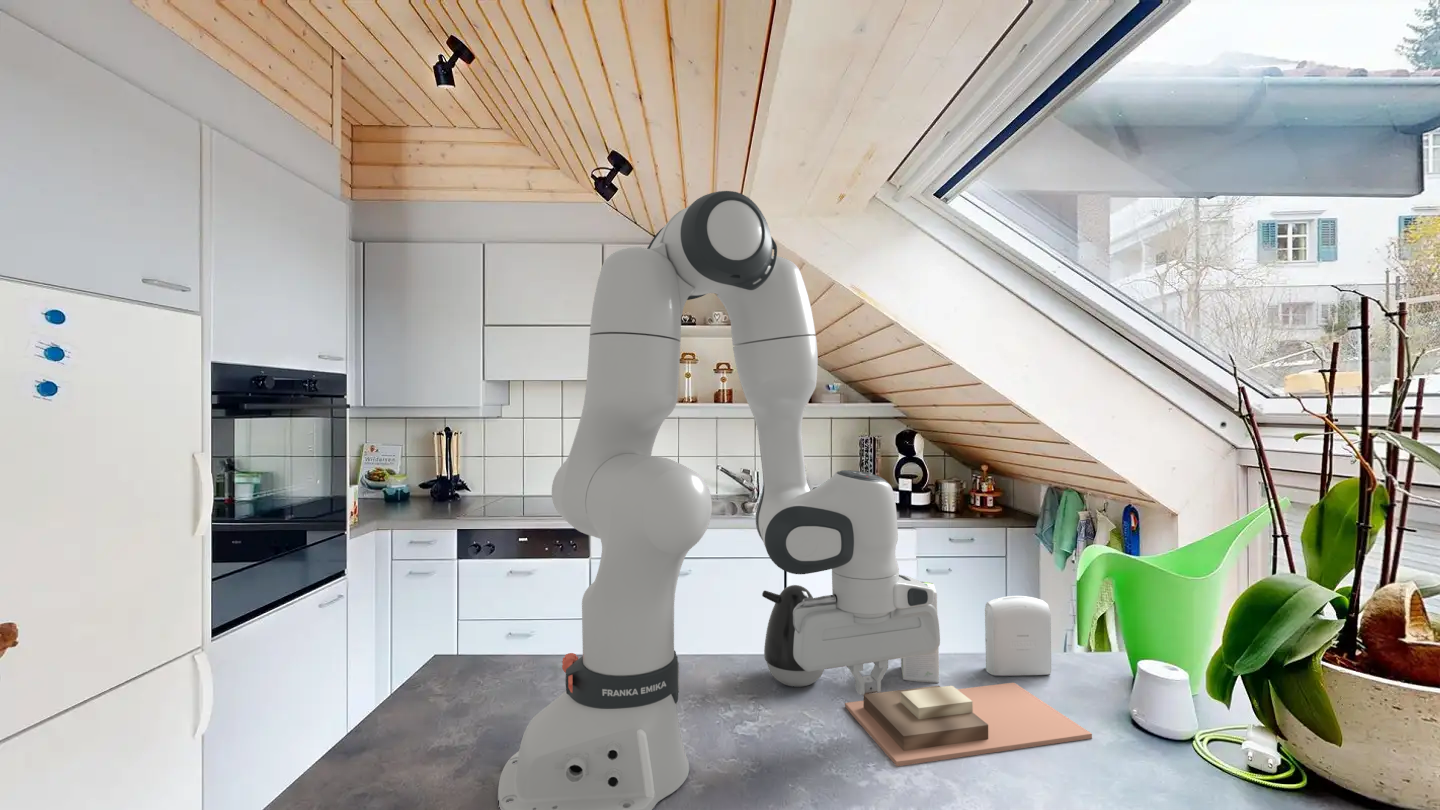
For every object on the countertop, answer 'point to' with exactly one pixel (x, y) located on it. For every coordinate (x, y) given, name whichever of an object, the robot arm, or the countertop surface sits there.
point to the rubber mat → (1009, 722)
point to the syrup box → (922, 660)
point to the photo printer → (1018, 636)
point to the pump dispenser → (785, 638)
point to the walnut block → (922, 723)
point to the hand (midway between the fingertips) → (868, 692)
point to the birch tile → (936, 702)
